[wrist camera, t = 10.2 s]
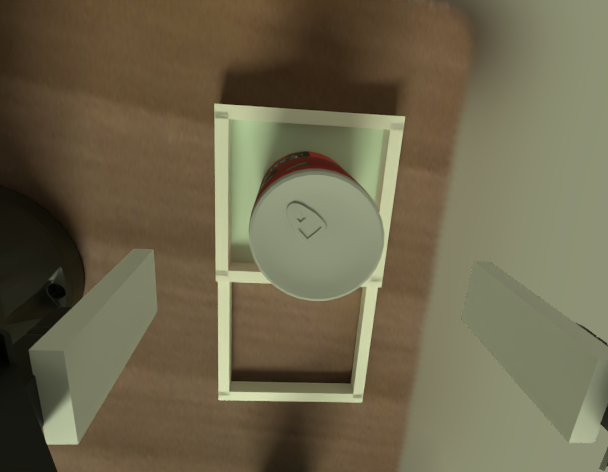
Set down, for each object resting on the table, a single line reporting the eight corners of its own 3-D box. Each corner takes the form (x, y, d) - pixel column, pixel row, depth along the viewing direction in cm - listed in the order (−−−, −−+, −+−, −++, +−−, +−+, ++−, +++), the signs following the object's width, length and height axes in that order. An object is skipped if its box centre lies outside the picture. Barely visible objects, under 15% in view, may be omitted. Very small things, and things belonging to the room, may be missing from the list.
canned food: (292, 130, 30) (296, 141, 20) (371, 186, 32) (414, 223, 21) (240, 209, 32) (220, 257, 21) (318, 257, 34) (335, 324, 23)
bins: (219, 104, 30) (214, 103, 27) (395, 116, 31) (405, 116, 28) (221, 389, 38) (216, 407, 36) (359, 391, 39) (364, 410, 37)
